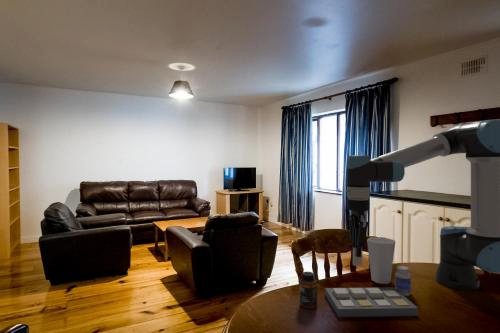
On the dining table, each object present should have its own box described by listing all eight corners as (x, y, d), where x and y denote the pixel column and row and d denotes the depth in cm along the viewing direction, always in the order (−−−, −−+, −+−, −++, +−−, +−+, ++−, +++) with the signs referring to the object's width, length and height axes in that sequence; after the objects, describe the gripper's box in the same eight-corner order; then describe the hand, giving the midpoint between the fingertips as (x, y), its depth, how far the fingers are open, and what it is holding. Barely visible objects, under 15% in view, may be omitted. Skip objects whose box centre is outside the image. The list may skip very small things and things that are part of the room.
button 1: (393, 296, 112) (394, 290, 112) (400, 302, 107) (400, 295, 107) (382, 297, 112) (382, 290, 112) (387, 302, 107) (387, 295, 107)
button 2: (377, 294, 112) (377, 287, 112) (383, 299, 107) (383, 292, 107) (365, 294, 112) (365, 287, 112) (370, 299, 107) (370, 293, 107)
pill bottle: (412, 296, 114) (413, 270, 113) (397, 295, 115) (397, 269, 114) (408, 290, 119) (408, 265, 119) (393, 289, 120) (393, 264, 120)
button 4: (344, 294, 112) (344, 288, 111) (349, 300, 107) (349, 293, 107) (332, 294, 111) (332, 288, 111) (336, 300, 107) (336, 293, 107)
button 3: (361, 294, 112) (361, 287, 112) (366, 299, 107) (366, 293, 107) (349, 294, 112) (349, 288, 111) (353, 300, 107) (353, 293, 107)
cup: (371, 274, 136) (372, 235, 136) (396, 279, 130) (397, 239, 130) (364, 282, 127) (364, 241, 127) (391, 288, 121) (391, 245, 121)
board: (393, 294, 116) (393, 286, 116) (417, 315, 100) (417, 307, 100) (325, 295, 115) (325, 287, 115) (338, 316, 99) (338, 308, 99)
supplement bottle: (318, 303, 109) (318, 271, 109) (316, 310, 103) (316, 277, 103) (301, 300, 111) (301, 269, 111) (298, 308, 105) (298, 275, 105)
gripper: (341, 196, 115) (340, 259, 116) (354, 201, 102) (353, 271, 103) (361, 196, 115) (360, 259, 116) (376, 201, 102) (375, 271, 103)
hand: (357, 264), depth 109 cm, fingers closed
